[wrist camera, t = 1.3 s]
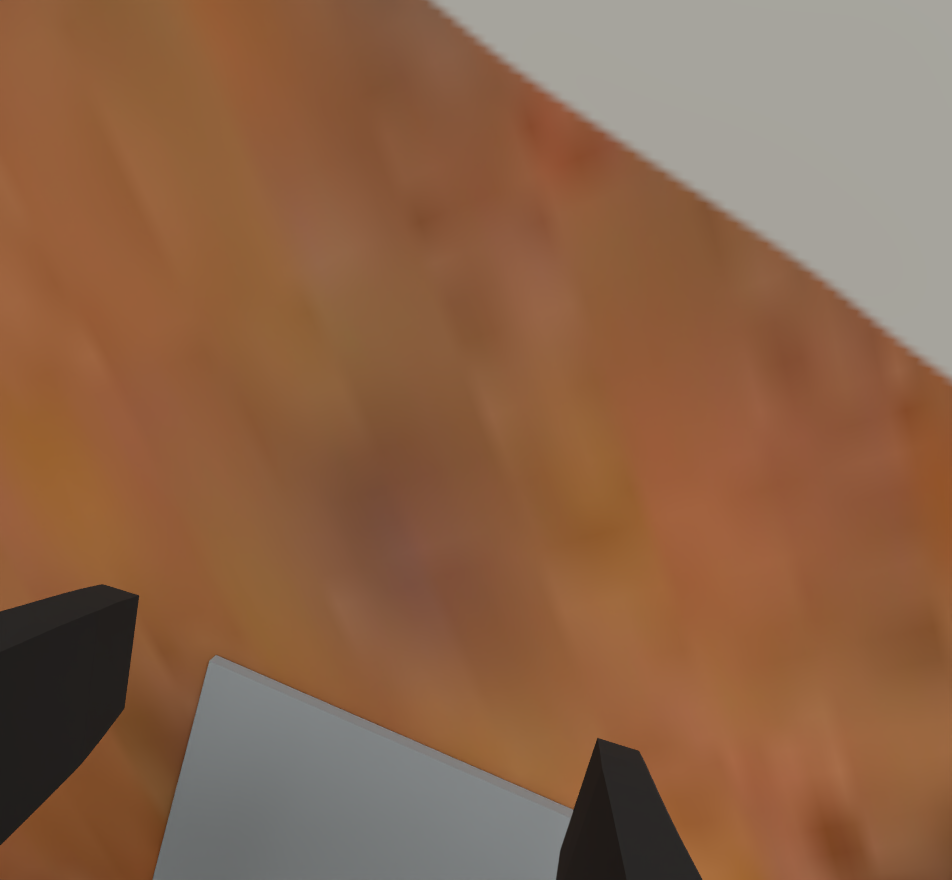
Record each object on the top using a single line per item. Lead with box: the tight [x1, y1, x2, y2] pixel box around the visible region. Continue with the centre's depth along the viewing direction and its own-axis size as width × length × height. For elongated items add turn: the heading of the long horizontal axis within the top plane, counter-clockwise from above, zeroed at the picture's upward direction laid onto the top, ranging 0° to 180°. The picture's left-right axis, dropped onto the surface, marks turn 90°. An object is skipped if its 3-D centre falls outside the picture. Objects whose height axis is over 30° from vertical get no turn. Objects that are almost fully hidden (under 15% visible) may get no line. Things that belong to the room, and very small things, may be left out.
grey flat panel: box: [153, 655, 573, 880], centre depth 26 cm, size 13×11×1 cm
